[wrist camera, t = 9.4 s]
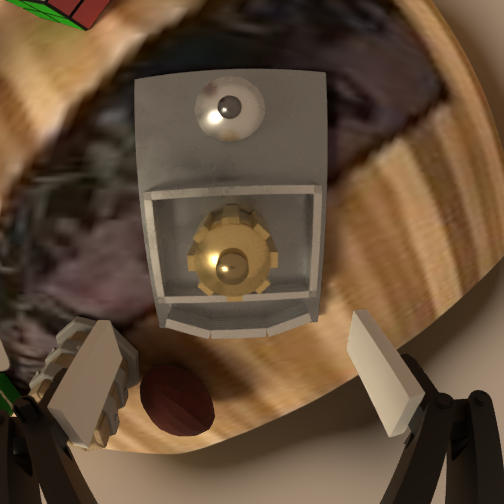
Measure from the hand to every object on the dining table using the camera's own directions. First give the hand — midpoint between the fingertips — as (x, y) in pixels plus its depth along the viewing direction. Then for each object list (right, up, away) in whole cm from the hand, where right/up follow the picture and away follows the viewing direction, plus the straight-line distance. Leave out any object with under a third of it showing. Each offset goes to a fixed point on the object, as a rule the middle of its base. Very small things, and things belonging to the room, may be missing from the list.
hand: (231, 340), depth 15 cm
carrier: (-1, +9, +15) cm, 18 cm away
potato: (-9, -13, +24) cm, 28 cm away
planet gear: (-1, +6, +15) cm, 16 cm away
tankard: (-24, -12, +22) cm, 35 cm away
